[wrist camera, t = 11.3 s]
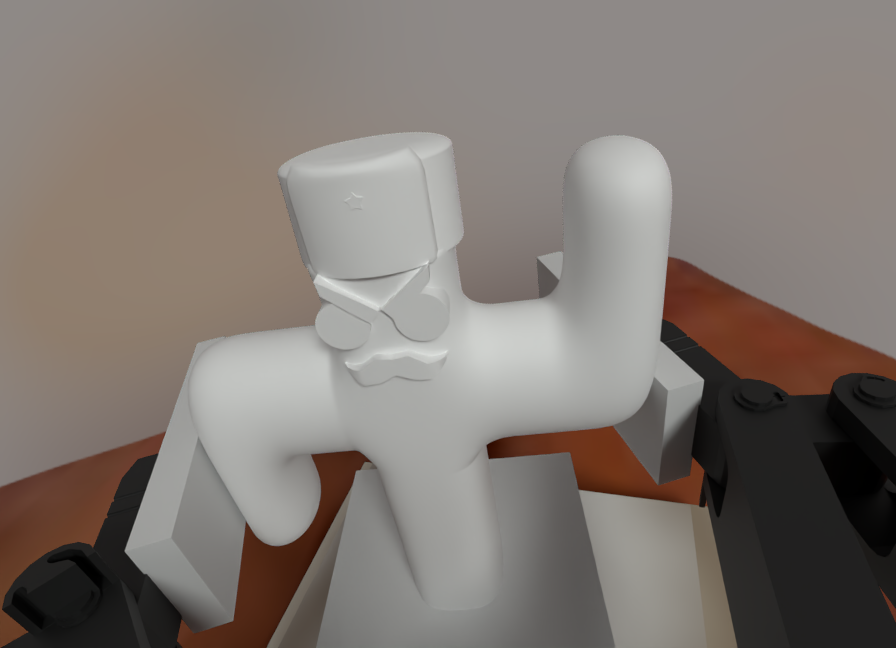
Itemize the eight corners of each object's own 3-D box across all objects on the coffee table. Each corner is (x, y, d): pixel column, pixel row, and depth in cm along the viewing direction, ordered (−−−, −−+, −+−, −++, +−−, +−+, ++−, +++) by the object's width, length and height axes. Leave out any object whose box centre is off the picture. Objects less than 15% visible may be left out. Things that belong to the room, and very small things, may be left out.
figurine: (352, 537, 19) (182, 133, 11) (602, 519, 18) (611, 63, 10) (301, 784, 13) (-143, 290, 5) (671, 777, 12) (823, 156, 4)
